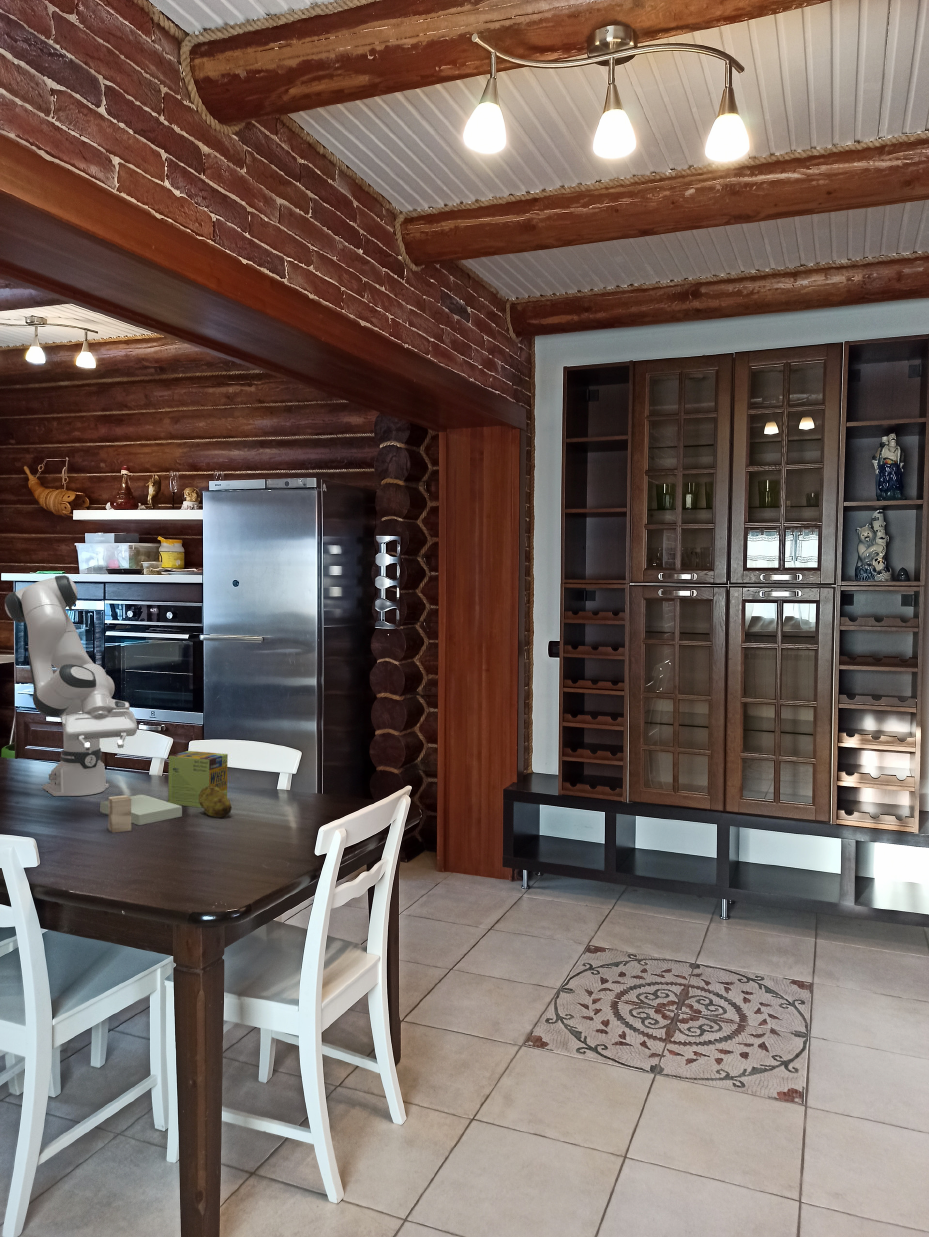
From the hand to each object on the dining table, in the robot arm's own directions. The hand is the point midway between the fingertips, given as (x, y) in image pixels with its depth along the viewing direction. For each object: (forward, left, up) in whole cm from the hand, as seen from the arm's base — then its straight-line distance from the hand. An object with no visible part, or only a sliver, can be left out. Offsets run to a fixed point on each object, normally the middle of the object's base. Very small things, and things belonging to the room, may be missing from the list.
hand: (104, 748), depth 266 cm
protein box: (+1, +31, -22) cm, 38 cm away
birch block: (+12, -2, -21) cm, 25 cm away
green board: (+1, +11, -21) cm, 24 cm away
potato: (+17, +26, -22) cm, 38 cm away
